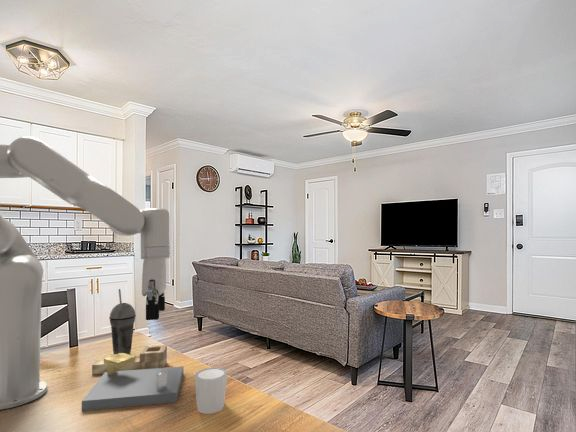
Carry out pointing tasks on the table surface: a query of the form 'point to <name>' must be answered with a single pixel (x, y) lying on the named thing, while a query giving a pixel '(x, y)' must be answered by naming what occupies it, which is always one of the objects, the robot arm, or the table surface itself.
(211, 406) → the white cylinder
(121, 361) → the block
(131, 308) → the beverage cup
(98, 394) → the board
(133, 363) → the link
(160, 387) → the pintle
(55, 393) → the table surface
